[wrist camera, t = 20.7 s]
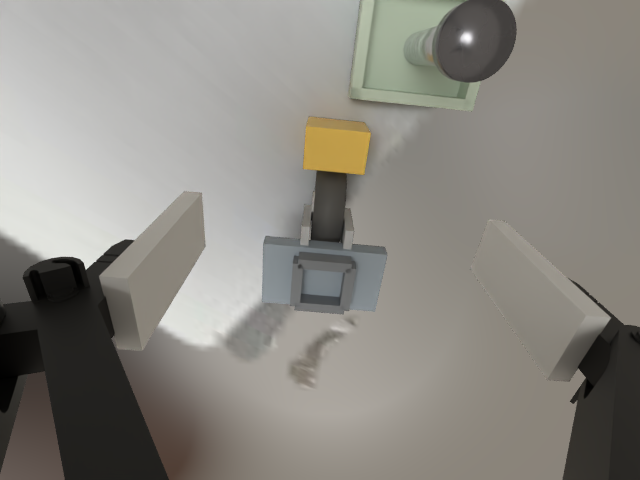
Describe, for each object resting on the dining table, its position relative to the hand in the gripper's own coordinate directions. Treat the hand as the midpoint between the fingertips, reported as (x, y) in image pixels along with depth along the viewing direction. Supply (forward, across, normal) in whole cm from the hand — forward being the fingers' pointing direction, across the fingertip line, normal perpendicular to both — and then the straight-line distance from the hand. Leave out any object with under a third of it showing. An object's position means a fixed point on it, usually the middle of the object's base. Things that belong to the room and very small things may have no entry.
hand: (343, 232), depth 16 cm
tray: (+24, +7, +9) cm, 27 cm away
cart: (+24, 0, -10) cm, 26 cm away
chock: (+24, 0, -1) cm, 24 cm away
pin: (+24, +8, +9) cm, 26 cm away
